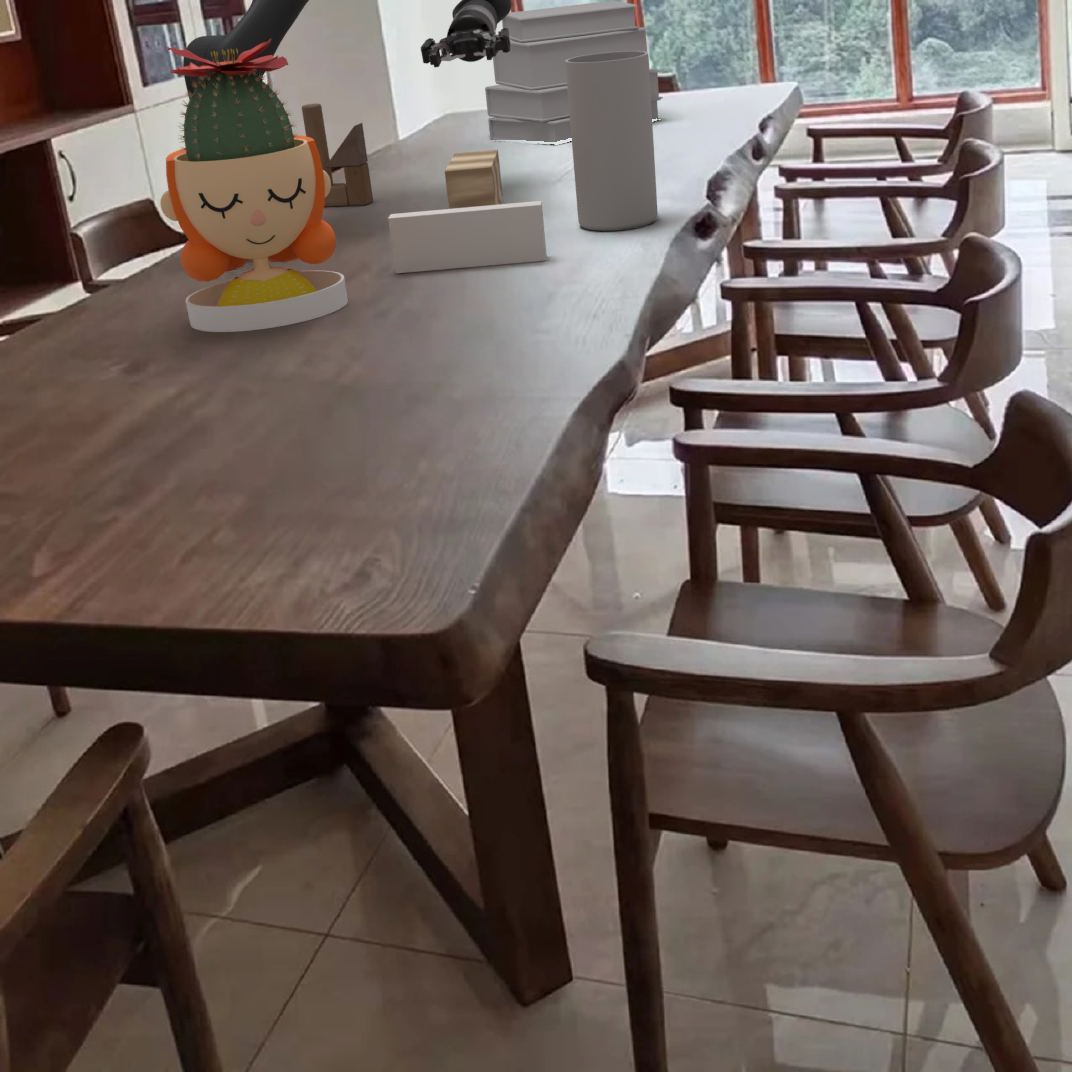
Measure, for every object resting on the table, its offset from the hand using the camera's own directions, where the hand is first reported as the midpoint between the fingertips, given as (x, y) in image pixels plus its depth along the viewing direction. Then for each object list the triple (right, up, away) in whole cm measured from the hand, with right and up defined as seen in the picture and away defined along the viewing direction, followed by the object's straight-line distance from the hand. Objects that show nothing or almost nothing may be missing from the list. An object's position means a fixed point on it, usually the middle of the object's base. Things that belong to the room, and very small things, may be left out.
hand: (461, 57), depth 219 cm
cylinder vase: (+25, -26, 0) cm, 36 cm away
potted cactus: (-25, -44, -28) cm, 58 cm away
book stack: (+21, +15, +93) cm, 97 cm away
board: (+2, -36, -16) cm, 39 cm away
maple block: (+3, -28, +1) cm, 28 cm away
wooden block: (-24, -14, +37) cm, 47 cm away
